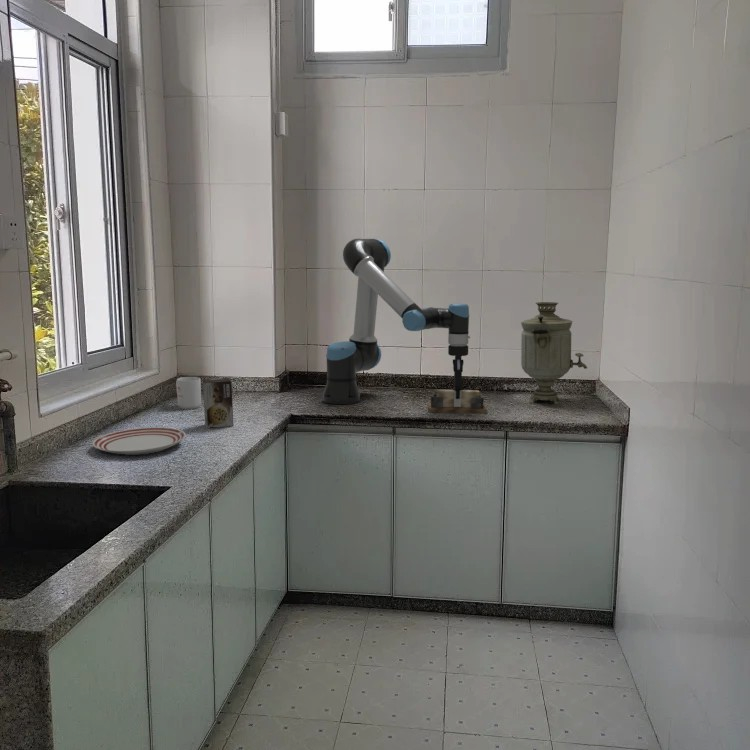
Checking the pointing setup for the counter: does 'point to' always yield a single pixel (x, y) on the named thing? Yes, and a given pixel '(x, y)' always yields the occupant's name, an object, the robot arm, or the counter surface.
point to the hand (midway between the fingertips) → (457, 405)
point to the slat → (465, 397)
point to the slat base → (475, 407)
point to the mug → (189, 392)
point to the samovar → (547, 350)
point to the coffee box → (218, 402)
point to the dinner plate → (139, 440)
